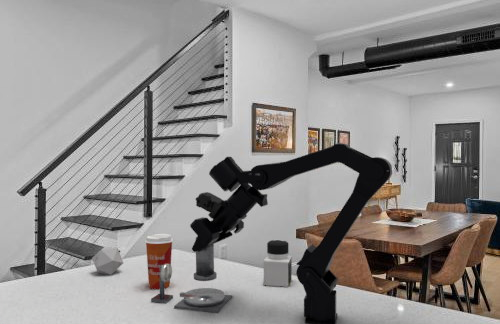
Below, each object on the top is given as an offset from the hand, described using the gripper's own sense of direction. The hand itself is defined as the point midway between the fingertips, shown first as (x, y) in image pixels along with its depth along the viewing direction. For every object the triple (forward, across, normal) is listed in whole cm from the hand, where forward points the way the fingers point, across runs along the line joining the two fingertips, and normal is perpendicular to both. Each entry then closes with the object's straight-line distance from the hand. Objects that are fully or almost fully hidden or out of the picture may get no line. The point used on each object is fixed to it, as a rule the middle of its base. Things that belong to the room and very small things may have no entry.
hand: (198, 248), depth 105 cm
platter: (+8, 0, +9) cm, 12 cm away
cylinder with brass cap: (+4, 0, +6) cm, 7 cm away
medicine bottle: (0, -22, +19) cm, 29 cm away
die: (+37, -12, -18) cm, 43 cm away
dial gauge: (+16, +2, +3) cm, 16 cm away
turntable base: (+8, 0, +11) cm, 13 cm away
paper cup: (+21, -7, -2) cm, 22 cm away
